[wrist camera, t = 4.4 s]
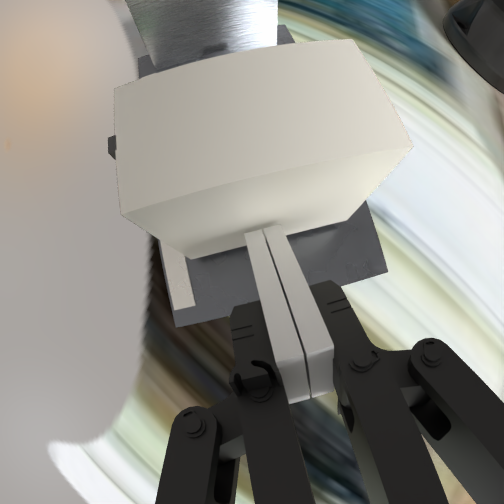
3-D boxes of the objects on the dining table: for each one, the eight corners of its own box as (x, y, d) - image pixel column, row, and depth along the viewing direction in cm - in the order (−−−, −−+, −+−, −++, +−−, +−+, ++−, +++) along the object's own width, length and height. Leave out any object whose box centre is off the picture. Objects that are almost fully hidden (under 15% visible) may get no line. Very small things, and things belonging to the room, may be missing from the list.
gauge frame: (143, 68, 22) (106, -8, 13) (284, 36, 22) (287, -48, 13) (182, 326, 19) (111, 342, 9) (379, 274, 19) (464, 247, 9)
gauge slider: (148, 188, 18) (72, 107, 9) (319, 145, 18) (352, 39, 9) (161, 267, 17) (71, 231, 8) (346, 220, 17) (413, 146, 8)
